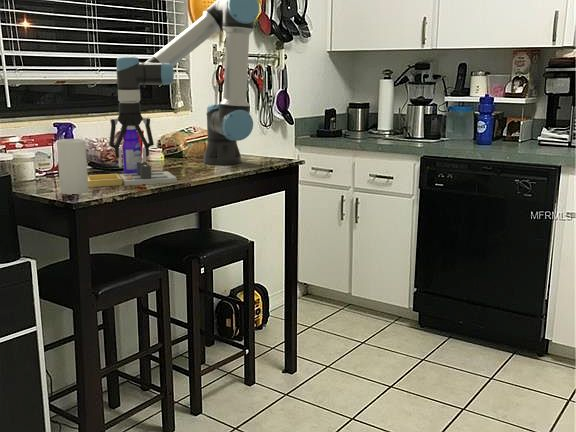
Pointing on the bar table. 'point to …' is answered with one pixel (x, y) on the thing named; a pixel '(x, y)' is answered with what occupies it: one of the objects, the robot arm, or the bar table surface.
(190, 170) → the bar table surface
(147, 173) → the breaker
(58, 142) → the light grey upright block
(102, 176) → the yellow square tray
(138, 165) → the block
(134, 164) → the bottle
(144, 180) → the breaker board
